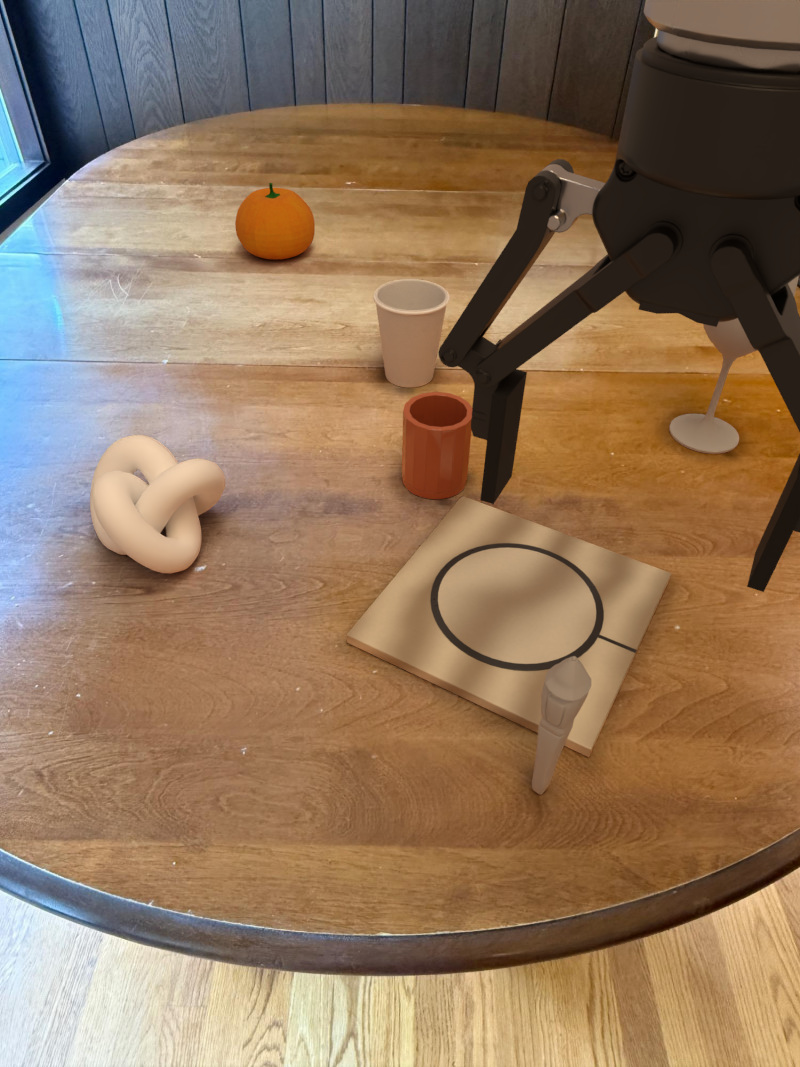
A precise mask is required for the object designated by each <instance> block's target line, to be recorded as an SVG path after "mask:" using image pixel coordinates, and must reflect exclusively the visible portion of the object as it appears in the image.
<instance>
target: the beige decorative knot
mask: <svg viewBox="0 0 800 1067" xmlns="http://www.w3.org/2000/svg"><path fill="white" fill-rule="evenodd" d="M136 471H140V472H141V473H142V474H143V476H144V478H145V479H146V480H147V482H146V481H145V480H142V479H141V478H140V477H138V476H137V475H134V474H135V473H136ZM90 485H91V486H90V492H89V493H90V494H89V509H90V517H91V521H92V525H93V528H94V532H95V533H96V536H97V538H98V539H99V541H100V542H101V544H102V545H103V546H104V547H105V548H106V549H107V550H110V551H112V552H114V553H115V554H118V555H121V556H126V555H127V557H129V558H131V559H132V560H134V561H135V562H136V563H137V564H140V565H142V566H143V567H146V568H147V569H149V570H152V571H154V572H158V573H161V574H174V573H178V572H179V573H180V572H183V571H185V570H187V569H188V568H189V567H191V566H192V565H193V563H194V562H195V561H196V559H197V558H198V556H199V554H200V551H201V547H202V537H203V536H202V528H201V522H200V518H199V516H200V515H203V514H204V513H206V512H207V511H209V510H211V509H212V508H213V507H214V506H215V505H216V504H217V503H218V502H219V501H220V499H221V497H222V495H223V493H224V491H225V488H226V477H225V473H224V471H223V470H222V469H221V468H220V466H219V465H218V464H217V463H216V462H214V461H212V460H208V459H206V458H191V459H187V460H184V461H181V462H178V460H177V458H176V457H175V456H174V454H173V453H172V452H171V451H170V449H169V448H168V447H166V446H165V445H164V444H163V443H161V442H160V441H159V440H158V439H155V438H154V437H151V436H147V435H145V434H133V435H128V436H124V437H121V438H120V439H118V440H116V441H114V442H112V443H111V444H110V446H108V447H107V448H106V449H105V450H104V452H103V454H102V455H101V456H100V458H99V460H98V463H97V465H96V467H95V469H94V473H93V476H92V480H91V484H90ZM164 529H165V535H163V534H161V533H162V532H163V530H164Z"/></svg>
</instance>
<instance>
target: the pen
mask: <svg viewBox="0 0 800 1067" xmlns="http://www.w3.org/2000/svg"><path fill="white" fill-rule="evenodd" d="M590 688H591V678H590V676H589V674H588V673H587V671H586V669H585V668H584V666H583V664H582V663H581V662H580V660H579V659H578V658H577V657H576V656H572V657H569V658H567V659H565V660H563V661H562V662H560V663H558V664H556V665H554V666H553V667H552V668H550V669H549V671H548V672H547V674H546V676H545V682H544V685H543V689H542V694H541V715H542V718H541V720H540V724H539V726H538V733H537V737H536V747H535V748H536V749H535V758H534V766H533V772H532V777H531V789H532V791H533V792H535V793H536V794H538V795H540V796H541V795H543V793H545V791H546V790H547V789H548V787H549V786H550V784H551V783H552V779H553V777H554V774H555V771H556V768H557V765H558V763H559V760H560V757H561V754H562V752H563V749H564V747H565V746H564V745H565V742H566V740H567V738H568V735H569V733H570V731H571V729H572V727H573V722H574V718H575V717H576V716H577V714H578V712H579V711H580V709H581V707H582V705H583V703H584V701H585V700H586V698H587V695H588V692H589V690H590Z"/></svg>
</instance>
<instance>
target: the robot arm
mask: <svg viewBox="0 0 800 1067" xmlns="http://www.w3.org/2000/svg"><path fill="white" fill-rule="evenodd" d="M642 12H643V14H644V16H645V18H646V20H647V21H648V22H649V24H651V26H653V28H655V29H656V30H657V35H656V36H654V37H651V38H650V39H648V40H646V41H645V42H644V43H643V46H642V47H641V48H639V49H638V50H637V51H636V52H635V56H634V62H633V66H632V67H633V68H632V71H631V76H630V82H629V87H628V91H627V97H626V102H625V107H624V112H623V118H622V123H621V127H620V128H621V129H620V134H619V138H618V144H617V149H616V154H615V160H614V165H613V168H612V170H611V173H610V175H609V177H608V179H607V180H606V182H604V181H600V180H597V179H593V178H590V177H587V176H583V175H581V174H578V173H577V174H576V173H575V172H574V168H573V166H572V164H571V163H570V162H569V161H567V160H566V159H563V158H557V159H555V160H552V161H551V162H550V163H549V164H547V165H546V166H544V168H543V169H542V170H540V171H539V172H538V173H536V174H535V175H534V176H533V177H532V178H531V179H530V180H529V181H528V182H527V185H526V187H525V191H524V195H523V199H522V203H521V207H520V213H519V217H518V220H517V221H518V222H517V224H516V229H515V230H514V232H513V234H512V236H510V239H509V240H508V242H507V243H506V244H505V246H504V248H503V249H502V251H501V253H500V254H499V256H498V257H497V259H496V260H495V262H494V263H493V265H492V266H491V268H490V270H489V271H488V273H487V274H486V276H485V278H484V279H483V280H482V282H481V284H480V285H479V286H478V287H477V289H476V290H475V291H476V292H475V293H474V294H473V296H472V297H471V299H470V301H469V302H468V303H467V305H466V306H465V308H464V310H463V311H462V313H461V314H460V316H459V318H458V319H457V321H455V324H454V325H453V327H452V328H451V329H450V332H449V333H448V335H447V336H446V337H445V339H444V341H443V342H442V343H441V345H440V346H439V348H438V353H437V354H438V358H439V360H440V362H441V363H442V364H443V365H445V366H446V367H448V368H456V367H459V368H461V369H462V370H463V371H465V372H466V373H467V374H469V375H470V377H471V378H472V380H473V385H474V388H473V398H472V406H471V407H472V418H471V430H472V432H471V434H472V436H473V437H474V438H477V439H481V440H484V441H486V446H485V454H484V455H485V456H484V462H483V463H484V465H483V471H482V472H483V473H482V481H481V490H480V499H479V500H480V501H482V502H485V503H487V504H491V505H494V504H495V503H496V501H497V499H498V498H499V497H500V495H501V494H502V492H503V491H504V489H505V487H506V486H507V484H508V483H509V482H510V480H511V479H512V477H513V470H514V465H515V464H514V463H515V456H516V450H517V443H518V437H519V435H518V434H519V430H520V423H521V415H522V409H523V402H524V394H525V388H526V381H527V375H528V372H527V371H524V370H521V369H518V368H521V366H523V365H524V364H525V363H527V362H528V361H529V360H531V359H532V358H533V357H535V356H536V355H537V354H539V353H540V352H542V351H543V350H544V349H545V348H547V347H548V346H550V345H551V344H552V343H554V342H555V341H556V340H558V339H560V338H561V337H562V336H563V335H565V333H567V332H568V331H570V330H571V329H573V328H574V327H575V326H577V325H578V324H579V323H581V322H582V321H584V320H585V319H587V318H588V317H589V316H590V315H592V314H596V313H597V312H599V311H600V310H601V309H603V308H605V307H606V306H607V305H608V304H610V303H612V302H613V301H614V300H616V298H618V297H619V296H621V295H622V294H623V293H625V294H626V295H627V296H628V297H629V298H630V299H631V300H632V301H633V302H635V303H636V304H638V311H643V312H648V313H651V314H656V315H661V314H665V315H666V314H677V315H678V314H679V315H680V316H683V317H684V318H687V319H689V320H691V321H693V322H695V323H697V324H701V325H703V324H706V325H710V326H714V327H717V325H718V323H719V322H726V321H731V320H734V319H737V318H738V320H739V322H740V324H741V326H742V328H743V330H744V332H745V334H746V336H747V338H748V340H749V342H750V344H751V345H752V347H753V348H754V349H755V350H757V351H758V353H759V354H760V356H761V358H762V360H763V362H764V364H765V367H766V368H767V370H768V372H769V374H770V376H771V378H772V380H773V382H774V384H775V386H776V388H777V390H778V392H779V394H780V396H781V398H782V400H783V402H784V404H785V406H786V408H787V410H788V411H789V415H790V416H791V418H792V420H793V422H794V424H795V426H796V428H797V430H798V432H799V433H800V314H799V311H798V306H797V300H796V298H795V295H794V296H793V293H792V291H791V289H790V287H789V285H788V283H789V282H791V281H792V280H793V279H795V278H796V277H798V276H799V277H800V0H645V1H644V6H643V11H642ZM583 215H589V216H591V217H592V222H593V225H594V227H595V229H596V231H597V234H598V236H599V238H600V240H601V242H602V245H603V247H604V249H605V251H606V253H607V254H606V255H605V256H603V257H602V258H601V259H600V260H599V261H598V262H597V263H596V264H594V266H593V267H591V268H590V269H589V270H588V271H587V272H585V273H584V274H583V275H582V276H580V277H579V278H578V279H577V280H575V281H574V282H573V283H571V284H570V285H569V286H568V287H566V288H565V289H564V290H563V291H561V292H560V293H558V295H556V296H555V297H554V298H553V299H551V300H550V301H548V303H546V304H545V305H544V306H542V307H541V308H540V309H538V311H536V312H535V313H534V314H533V315H531V316H529V318H527V319H526V320H525V321H523V322H522V323H521V324H519V325H518V326H517V327H515V329H514V330H511V332H509V333H508V334H507V335H506V336H504V337H503V338H502V339H501V338H500V339H499V340H498V341H497V342H496V343H493V342H492V341H490V340H489V339H487V338H486V337H484V336H485V334H486V333H487V332H488V330H489V328H491V327H492V324H493V323H494V322H495V320H496V319H497V317H498V316H499V315H500V313H501V312H502V311H503V309H504V307H505V306H506V304H507V303H508V301H509V300H510V298H511V297H512V296H513V294H514V293H515V291H516V290H517V289H518V287H519V286H520V285H521V282H522V281H523V280H524V278H525V277H526V275H527V274H528V273H529V271H530V270H531V268H532V267H533V265H534V264H535V263H536V261H537V260H538V258H539V257H540V256H541V254H542V253H543V251H544V250H545V248H546V247H547V245H548V244H549V243H550V241H551V240H552V239H553V237H554V235H555V233H559V234H560V233H564V232H566V231H568V230H569V229H570V228H571V227H572V226H573V225H574V224H576V222H577V221H578V220H579V217H581V216H583ZM794 532H796V533H799V534H800V453H798V456H797V458H796V461H795V463H794V465H793V467H792V470H791V472H790V474H789V476H788V479H787V480H786V483H785V485H784V488H783V489H782V492H781V494H780V496H779V498H778V500H777V502H776V505H775V508H774V509H773V512H772V514H771V517H770V518H769V520H768V523H767V525H766V527H765V529H764V532H763V534H762V536H761V538H760V540H759V543H758V545H757V548H756V550H755V552H754V556H753V560H752V564H751V569H750V573H749V576H748V577H749V578H748V580H747V581H748V582H747V585H746V586H747V588H749V589H753V590H755V591H759V592H761V593H765V590H766V589H767V586H768V584H769V582H770V580H771V578H772V576H773V574H774V572H775V570H776V568H777V566H778V564H779V561H780V559H781V557H782V556H783V553H784V551H785V549H786V547H787V545H788V543H789V541H790V539H791V537H792V535H793V533H794Z"/></svg>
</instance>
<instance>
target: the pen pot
mask: <svg viewBox="0 0 800 1067" xmlns="http://www.w3.org/2000/svg"><path fill="white" fill-rule="evenodd" d="M472 407H473V406H472V405H471V403H470V402H469V401H467V400H466V399H465V398H463V397H461V396H459V395H457V394H453V393H450V392H443V391H430V392H423V393H419V394H417V395H414V396H412V397H411V398H409V400H407V401H406V402H405V403H404V405H403V410H402V436H401V437H402V440H401V442H402V443H401V444H402V445H401V449H402V450H401V480H402V484H403V486H404V487H405V489H407V491H409V492H410V493H411V494H413V495H415V496H417V497H420V498H423V499H426V500H427V499H428V500H445V499H449V498H452V497H454V496H457V495H459V494H460V493H461V492H462V491H463V490H464V489H465V487H466V485H467V484H468V483H467V482H468V472H469V463H470V462H469V461H470V453H471V443H472V442H471V440H472V430H471V418H472Z"/></svg>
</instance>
